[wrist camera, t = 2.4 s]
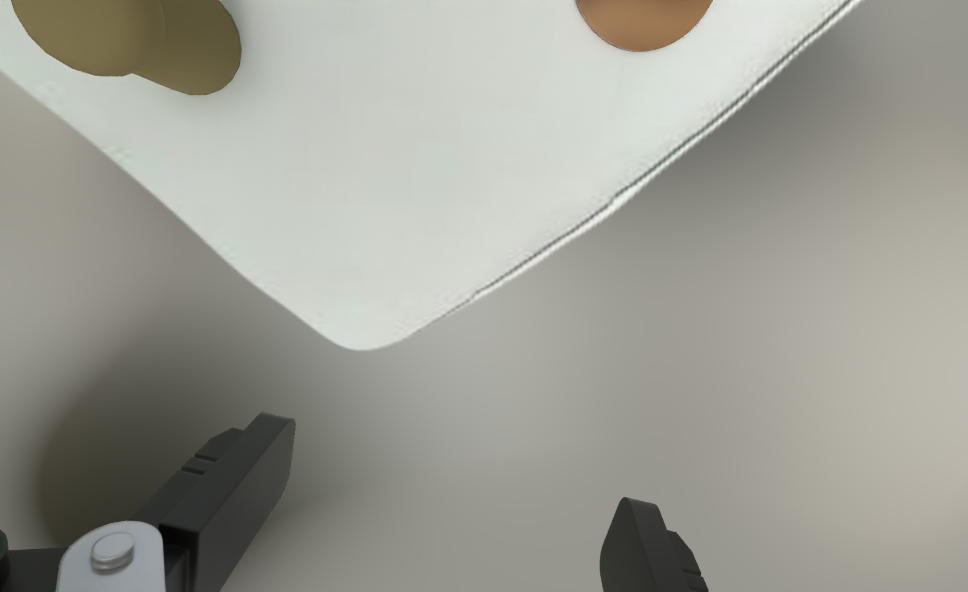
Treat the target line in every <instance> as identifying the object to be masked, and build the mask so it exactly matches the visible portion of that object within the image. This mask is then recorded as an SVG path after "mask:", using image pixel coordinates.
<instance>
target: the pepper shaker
mask: <svg viewBox="0 0 968 592" xmlns="http://www.w3.org/2000/svg"><path fill="white" fill-rule="evenodd" d="M11 1H12V5H13V8H14V11H15V13H16V15H17V17H18V19H19V20H20V22H21V24H22V25H23V27H24V28H25V30H26V32H27V33H28V35H29V36H30V37H31V38H32V39H33V40H34V41H35V42H36V43H37V44H38V45H39V46H40V47H41V48H42V49H43V50H44V51H45V52H46V53H47V54H49V55H51V56H52V57H54V58H56V59H57V60H59V61H60V62H62V63H64V64H65V65H67V66H69V67H71V68H73V69H75V70H78V71H82V72H85V73H88V74H92V75H95V76H125V75H128V74H130V73H134V74H136V75H139V76H141V77H144V78H146V79H148V80H151V81H153V82H156V83H158V84H161V85H163V86H165V87H168V88H170V89H173V90H176V91H179V92H182V93H185V94H189V95H207V94H210V93H213V92H215V91H218V90H221V89H222V88H223V87H224V86H225V85H227V84H228V83H229V82H230V81H231V80H232V79H233V77H234V75H235V73H236V71H237V69H238V67H239V64H240V57H241V44H240V38H239V32H238V30H237V28H236V26H235V23H234V21H233V19H232V17H231V15H230V14H229V13H228V11H227V10H226V9H225V8H224V7H223V5H222V4H221V3H220V2H219V1H218V0H11Z"/></svg>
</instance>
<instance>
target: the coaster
mask: <svg viewBox="0 0 968 592" xmlns="http://www.w3.org/2000/svg"><path fill="white" fill-rule="evenodd" d="M712 1H713V0H576V3H577V5H578V8H579V10H580V12H581V14H582V16H583V17H584V19H585V21H586V22H587V24H588V25H589V26H590V27H591V29H592V30H593V31H594V32H595V33H596V34H597V35H598V36H599V37H601V38H602V39H603V40H605V41H606V42H608V43H609V44H611V45H613V46H615V47H618V48H621V49H624V50H629V51H650V50H655V49H658V48H662V47H665V46H667V45H669V44H672V43H674V42H675V41H677V40H678V39H680V38H682V37H683V36H684V35H686V34H687V33H688V32H689V31H690V30H691V29H692V28H693V27H694V26H695V25H696V24H697V23H698V22H699V21H700V19H701V18H702V17H703V16H704V14H705V13H706V11H707V9H708V8H709V6H710V4H711V3H712Z"/></svg>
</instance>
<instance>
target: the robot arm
mask: <svg viewBox="0 0 968 592" xmlns="http://www.w3.org/2000/svg"><path fill="white" fill-rule="evenodd" d="M295 426H296V423H295V419H293V418H289V417H284V416H280V415H276V414H272V413H267V412H261V413H260V414H259V415H258V416H257V417H256V418H255V419H254V420H253V421H252V422H251V424H249V426H248V427H247V428H246V429H245V430H241V429H236V428H231V429H229V430H227V431H225V432H223V433H221V434H219V435H217V436H215V437H213V438H211V439H210V440H209V441H208V442H207V443H206V444H205V445H204V446H203V447H202V448H201V449H200V450H199V451H198V452H197V453H196V454H195V456H194V457H191V459H189V460H188V461H187V463H185V465H183V466H182V469H181V470H178V471H177V472H176V473H175V474H174V475H173V476H172V477H171V478H170V479H169V480H168V481H167V482H166V483H165V484H164V485H163V486H162V487H161V488H160V489H159V490H158V491H157V492H156V493H155V494H154V495H153V496H152V497H151V498H150V499H149V500H148V501H147V502H146V503H145V504H144V505H143V506H142V507H141V508H140V509H139V510H138V511H137V512H136V513H135V514H134V515H133V516H132V517H131V518H130V519H129V520H128V521H122V522H116V523H112V524H109V525H105V526H102V527H100V528H97V529H95V530H93V531H91V532H89V533H87V534H86V535H84V536H82V537H81V538H79V539H78V540H77V541H76V542H74V543H73V544H72V545H71V546H70V547H64V548H48V549H29V550H8V541H7V537H6V535H5V533H3V532H2V531H1V530H0V592H219V591H220V590H221V588H222V587H223V585H224V584H225V582H226V581H227V579H228V578H229V576H230V574H231V573H232V571H233V570H234V568H235V567H236V565H237V564H238V562H239V561H240V559H241V558H242V556H243V554H244V553H245V551H246V550H247V548H248V547H249V545H250V544H251V542H252V541H253V539H254V538H255V536H256V535H257V533H258V532H259V530H260V529H261V527H262V526H263V524H264V522H265V521H266V519H267V518H268V516H269V515H270V513H271V512H272V510H273V509H274V507H275V506H276V504H277V502H278V501H279V499H280V498H281V496H282V494H283V492H284V490H285V487H286V485H287V482H288V478H289V474H290V468H291V459H292V452H293V443H294V435H295ZM600 576H601V581H602V586H603V591H604V592H708V588H707V586H706V583H705V581H704V579H703V577H701V572H700V569H699V567H698V564H697V562H696V560H695V558H694V555H693V553H692V551H691V550H690V549H689V548H688V546H687V545H686V544H685V543H684V542H683V540H682V539H681V538H680V536H679V535H678V534H677V533H676V532H672V531H669V530H667V529H666V526H665V524H664V521H663V518H662V516H661V513H660V511H659V508H658V507H657V505H655V504H652V503H648V502H644V501H639V500H635V499H631V498H626V497H624V498H622V499H621V501H620V503H619V505H618V507H617V510H616V513H615V515H614V517H613V520H612V523H611V525H610V528H609V530H608V533H607V535H606V538H605V540H604V543H603V546H602V550H601V555H600Z"/></svg>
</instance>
